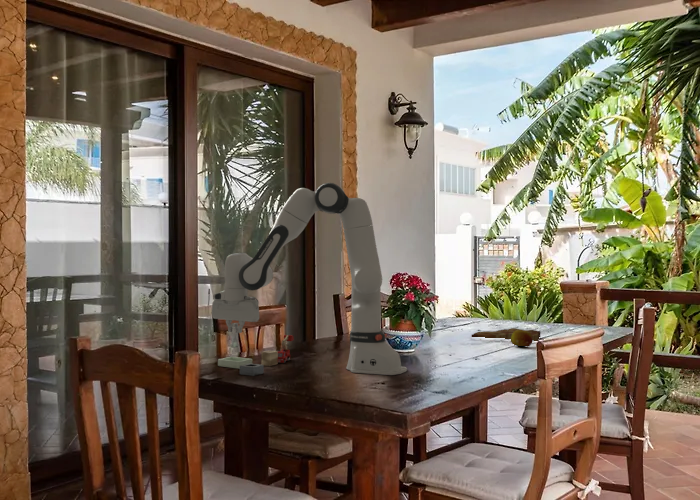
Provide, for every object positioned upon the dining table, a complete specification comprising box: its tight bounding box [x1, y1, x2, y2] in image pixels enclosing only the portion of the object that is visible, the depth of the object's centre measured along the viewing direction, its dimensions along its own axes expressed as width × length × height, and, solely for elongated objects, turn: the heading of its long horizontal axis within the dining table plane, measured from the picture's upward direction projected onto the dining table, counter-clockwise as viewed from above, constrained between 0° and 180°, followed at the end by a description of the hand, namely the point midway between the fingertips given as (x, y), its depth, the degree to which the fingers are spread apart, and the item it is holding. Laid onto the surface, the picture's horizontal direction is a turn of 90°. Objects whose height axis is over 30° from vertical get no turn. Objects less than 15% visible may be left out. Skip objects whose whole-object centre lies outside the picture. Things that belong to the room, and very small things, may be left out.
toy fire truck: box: [277, 334, 295, 364], centre depth 278 cm, size 3×14×10 cm, turn 168°
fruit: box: [510, 330, 533, 347], centre depth 322 cm, size 10×9×8 cm
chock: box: [260, 349, 279, 367], centre depth 268 cm, size 4×5×5 cm
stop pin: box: [230, 322, 239, 348], centre depth 264 cm, size 2×2×9 cm
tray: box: [217, 356, 253, 370], centre depth 264 cm, size 10×8×2 cm
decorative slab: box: [471, 327, 541, 342], centre depth 352 cm, size 32×22×5 cm
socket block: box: [239, 363, 265, 377], centre depth 248 cm, size 6×6×3 cm
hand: (235, 332), depth 264 cm, fingers closed on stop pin, 2 cm apart
